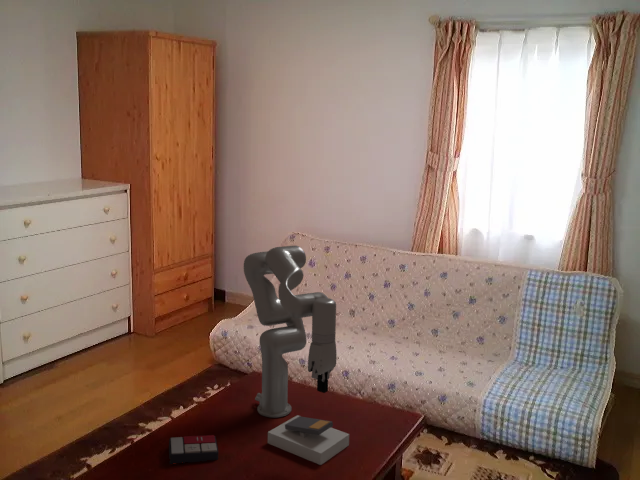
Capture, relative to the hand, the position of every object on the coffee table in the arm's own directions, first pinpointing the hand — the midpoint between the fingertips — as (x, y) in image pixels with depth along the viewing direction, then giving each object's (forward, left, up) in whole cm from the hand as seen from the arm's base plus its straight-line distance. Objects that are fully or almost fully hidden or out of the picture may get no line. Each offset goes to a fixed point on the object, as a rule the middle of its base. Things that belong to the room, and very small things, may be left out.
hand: (322, 391), depth 205 cm
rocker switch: (-5, 0, -14) cm, 15 cm away
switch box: (-5, 0, -20) cm, 21 cm away
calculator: (-31, -28, -21) cm, 46 cm away
